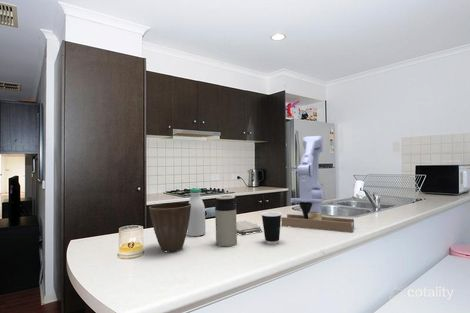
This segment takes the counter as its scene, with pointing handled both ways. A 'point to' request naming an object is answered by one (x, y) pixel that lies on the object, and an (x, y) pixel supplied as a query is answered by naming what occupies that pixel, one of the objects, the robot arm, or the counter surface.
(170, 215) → the plant pot
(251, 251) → the counter surface
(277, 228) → the dixie cup
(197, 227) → the milk bottle
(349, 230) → the trap track
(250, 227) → the washcloth
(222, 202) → the travel mug
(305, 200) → the robot arm
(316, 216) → the maple block
